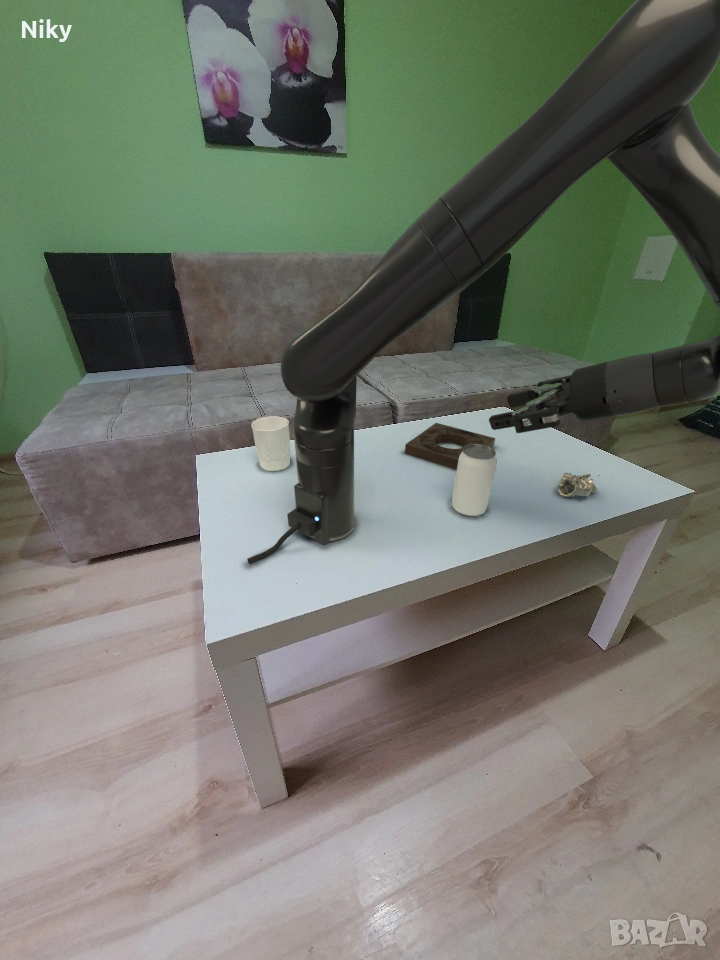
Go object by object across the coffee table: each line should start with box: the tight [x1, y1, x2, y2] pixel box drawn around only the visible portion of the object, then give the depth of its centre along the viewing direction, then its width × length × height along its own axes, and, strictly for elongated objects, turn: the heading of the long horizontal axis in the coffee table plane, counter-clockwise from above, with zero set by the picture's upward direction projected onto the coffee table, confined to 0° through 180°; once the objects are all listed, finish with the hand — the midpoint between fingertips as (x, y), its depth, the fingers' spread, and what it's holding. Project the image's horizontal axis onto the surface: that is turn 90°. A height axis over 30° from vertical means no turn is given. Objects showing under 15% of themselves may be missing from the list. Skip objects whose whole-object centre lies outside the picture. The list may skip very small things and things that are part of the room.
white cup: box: [250, 415, 291, 472], centre depth 85 cm, size 8×8×10 cm
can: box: [451, 444, 497, 517], centre depth 70 cm, size 6×6×12 cm
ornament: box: [557, 472, 598, 498], centre depth 77 cm, size 8×7×4 cm
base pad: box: [404, 422, 496, 471], centre depth 93 cm, size 16×16×2 cm
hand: (500, 412), depth 64 cm, fingers open, 8 cm apart
